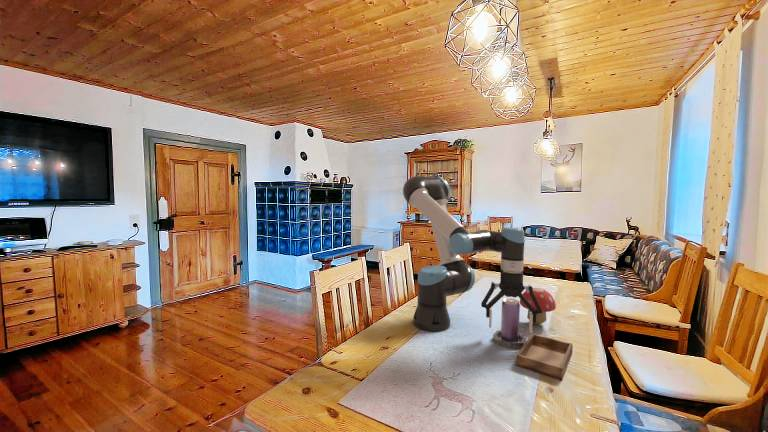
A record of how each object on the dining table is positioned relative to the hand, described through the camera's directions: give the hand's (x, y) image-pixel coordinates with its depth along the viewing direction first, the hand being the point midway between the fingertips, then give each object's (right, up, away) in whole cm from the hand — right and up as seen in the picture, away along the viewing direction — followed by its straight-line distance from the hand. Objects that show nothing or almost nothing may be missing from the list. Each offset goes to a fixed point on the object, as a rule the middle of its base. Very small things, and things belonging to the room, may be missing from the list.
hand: (509, 328), depth 115 cm
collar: (0, -5, 0) cm, 5 cm away
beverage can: (0, -5, 0) cm, 5 cm away
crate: (+7, -6, -12) cm, 15 cm away
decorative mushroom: (+17, -4, +16) cm, 24 cm away
